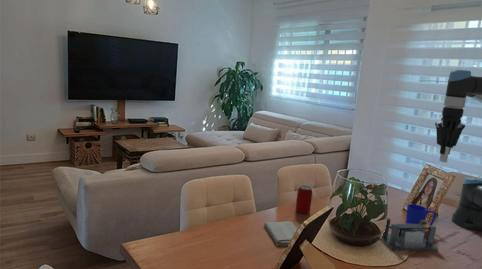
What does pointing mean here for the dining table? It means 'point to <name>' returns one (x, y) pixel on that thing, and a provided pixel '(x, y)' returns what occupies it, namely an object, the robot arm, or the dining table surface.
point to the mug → (417, 214)
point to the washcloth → (281, 231)
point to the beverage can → (304, 199)
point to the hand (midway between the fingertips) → (443, 161)
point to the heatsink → (409, 238)
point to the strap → (410, 226)
